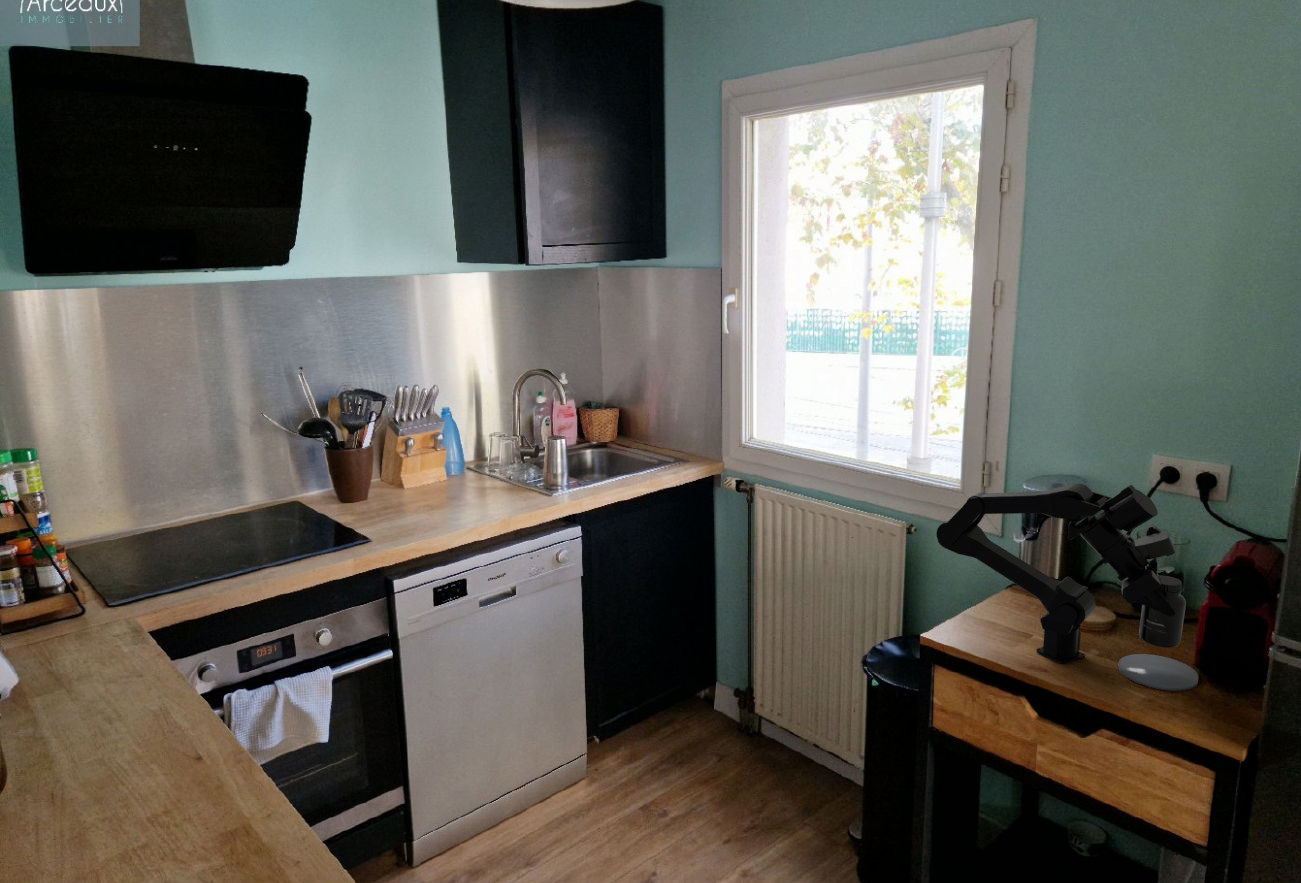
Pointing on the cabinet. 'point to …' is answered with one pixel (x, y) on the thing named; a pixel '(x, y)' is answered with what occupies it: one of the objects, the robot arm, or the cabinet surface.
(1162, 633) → the supplement bottle
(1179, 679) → the disc
